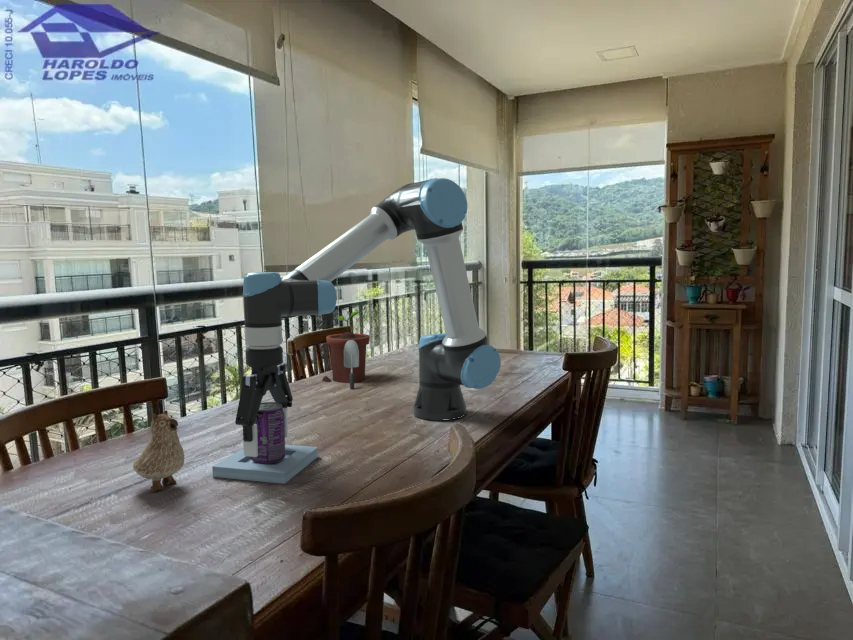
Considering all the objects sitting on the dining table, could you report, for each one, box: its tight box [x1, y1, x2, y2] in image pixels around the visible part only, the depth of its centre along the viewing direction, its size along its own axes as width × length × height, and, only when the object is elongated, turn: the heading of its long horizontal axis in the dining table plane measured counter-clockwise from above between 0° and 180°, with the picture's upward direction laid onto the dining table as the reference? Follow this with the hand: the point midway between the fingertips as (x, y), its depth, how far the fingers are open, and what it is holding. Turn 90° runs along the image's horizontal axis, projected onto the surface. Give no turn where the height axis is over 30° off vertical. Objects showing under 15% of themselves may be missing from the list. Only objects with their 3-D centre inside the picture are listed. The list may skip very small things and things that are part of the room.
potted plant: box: [321, 311, 371, 390], centre depth 207 cm, size 18×22×25 cm
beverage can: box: [251, 401, 286, 464], centre depth 123 cm, size 7×7×12 cm
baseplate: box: [211, 444, 319, 485], centre depth 123 cm, size 16×16×2 cm
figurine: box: [132, 410, 185, 493], centre depth 112 cm, size 9×10×15 cm
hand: (267, 445), depth 123 cm, fingers open, 12 cm apart
